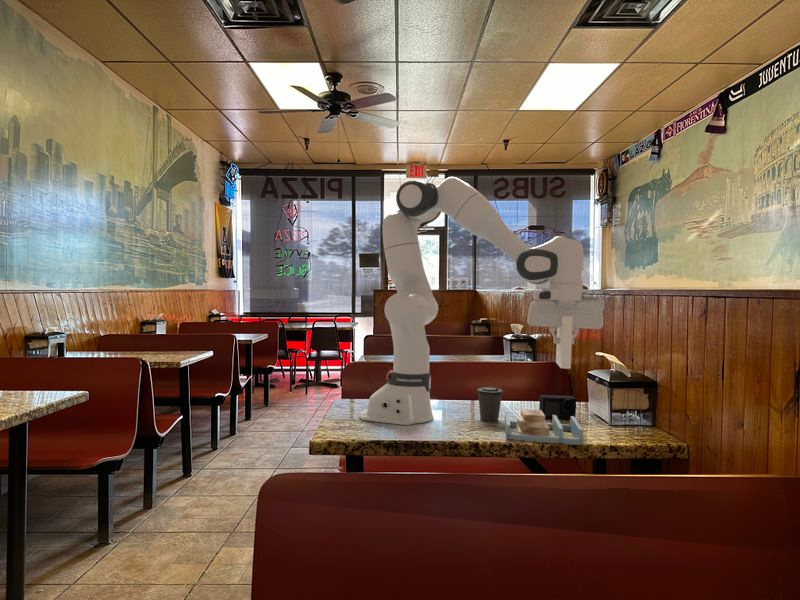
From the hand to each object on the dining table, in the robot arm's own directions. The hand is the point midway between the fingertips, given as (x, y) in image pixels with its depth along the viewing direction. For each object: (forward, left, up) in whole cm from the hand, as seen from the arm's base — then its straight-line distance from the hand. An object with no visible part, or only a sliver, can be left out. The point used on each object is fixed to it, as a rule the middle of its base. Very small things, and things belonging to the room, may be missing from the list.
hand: (563, 343), depth 143 cm
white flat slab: (0, 0, -6) cm, 6 cm away
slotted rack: (-6, -3, -25) cm, 26 cm away
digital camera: (+1, +18, -26) cm, 31 cm away
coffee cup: (-20, +10, -26) cm, 34 cm away
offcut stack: (-8, -3, -25) cm, 27 cm away
